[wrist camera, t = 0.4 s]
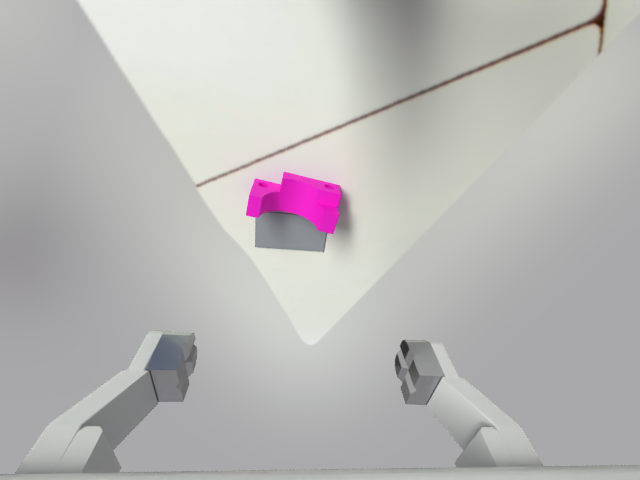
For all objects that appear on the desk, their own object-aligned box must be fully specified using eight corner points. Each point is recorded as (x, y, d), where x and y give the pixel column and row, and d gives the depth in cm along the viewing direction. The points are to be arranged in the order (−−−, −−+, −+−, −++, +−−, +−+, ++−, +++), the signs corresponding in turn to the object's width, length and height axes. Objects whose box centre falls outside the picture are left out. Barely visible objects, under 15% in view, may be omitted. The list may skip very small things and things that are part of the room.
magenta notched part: (339, 184, 55) (344, 201, 49) (329, 214, 58) (332, 233, 52) (257, 164, 52) (251, 180, 46) (252, 196, 55) (246, 215, 49)
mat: (255, 210, 56) (255, 211, 56) (328, 216, 58) (328, 217, 58) (255, 246, 61) (255, 246, 60) (323, 250, 62) (323, 251, 62)
